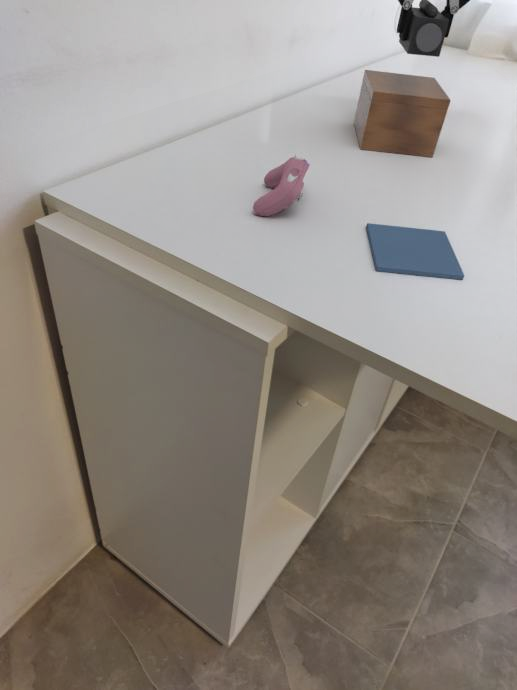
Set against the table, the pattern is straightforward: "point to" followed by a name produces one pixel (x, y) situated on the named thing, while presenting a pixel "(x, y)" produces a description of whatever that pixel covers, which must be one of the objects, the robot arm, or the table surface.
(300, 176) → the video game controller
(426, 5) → the dark grey boxy piece
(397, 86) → the wooden block
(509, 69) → the table surface
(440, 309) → the table surface
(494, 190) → the table surface
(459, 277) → the felt pad
